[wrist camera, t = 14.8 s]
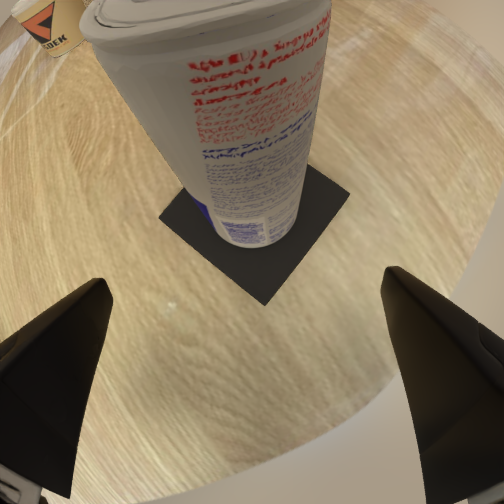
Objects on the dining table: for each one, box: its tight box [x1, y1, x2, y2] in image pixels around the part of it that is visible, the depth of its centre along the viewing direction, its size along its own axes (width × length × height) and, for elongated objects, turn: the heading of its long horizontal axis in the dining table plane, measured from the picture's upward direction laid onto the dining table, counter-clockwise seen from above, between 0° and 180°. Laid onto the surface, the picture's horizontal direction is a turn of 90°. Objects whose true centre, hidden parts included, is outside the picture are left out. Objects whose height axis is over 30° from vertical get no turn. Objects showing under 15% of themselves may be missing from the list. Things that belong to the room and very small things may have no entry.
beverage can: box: [79, 0, 332, 248], centre depth 11 cm, size 6×6×15 cm
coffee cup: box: [11, 0, 86, 57], centre depth 21 cm, size 9×9×12 cm
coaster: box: [159, 164, 350, 306], centre depth 19 cm, size 9×9×1 cm
